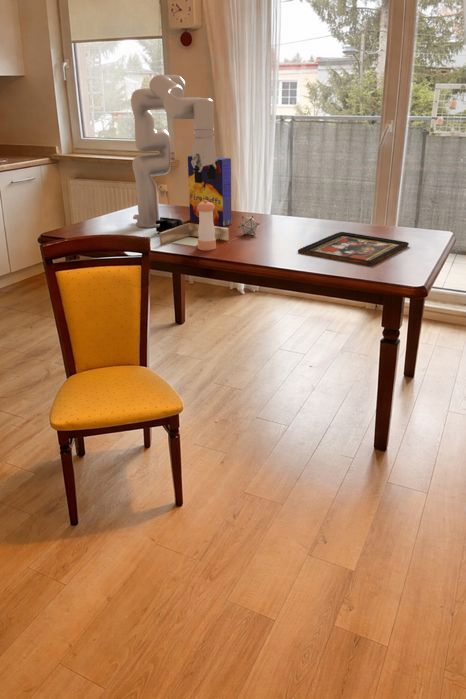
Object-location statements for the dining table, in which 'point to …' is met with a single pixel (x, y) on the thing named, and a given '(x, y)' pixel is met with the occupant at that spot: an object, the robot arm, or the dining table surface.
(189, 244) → the pad
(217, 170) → the cereal box
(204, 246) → the pepper shaker
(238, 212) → the dining table surface
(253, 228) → the grey spiky star ornament
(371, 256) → the framed icon painting
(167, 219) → the end cap
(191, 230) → the corner walls
